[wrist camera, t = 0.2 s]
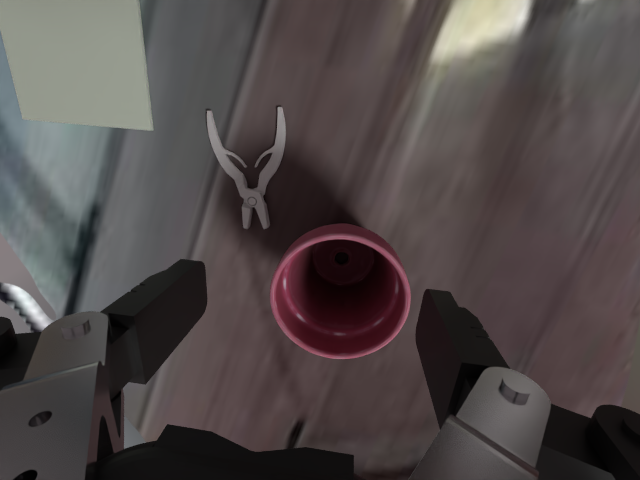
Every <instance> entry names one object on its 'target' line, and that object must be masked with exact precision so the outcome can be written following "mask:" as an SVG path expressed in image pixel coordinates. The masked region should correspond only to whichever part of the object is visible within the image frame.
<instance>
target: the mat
mask: <svg viewBox="0 0 640 480" xmlns="http://www.w3.org/2000/svg"><path fill="white" fill-rule="evenodd" d="M0 30H1V34H2V38H3V42H4V46H5V50H6V54H7V58H8V62H9V66H10V70H11V74H12V78H13V82H14V86H15V90H16V94H17V98H18V102H19V106H20V110H21V114H22V118H23V119H25V120H36V121H47V122H59V123H70V124H82V125H93V126H104V127H116V128H127V129H139V130H150V131H154V130H153V121H152V112H151V103H150V94H149V85H148V75H147V66H146V57H145V48H144V39H143V30H142V21H141V12H140V2H139V0H0Z"/></svg>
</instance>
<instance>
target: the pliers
mask: <svg viewBox="0 0 640 480" xmlns="http://www.w3.org/2000/svg"><path fill="white" fill-rule="evenodd" d="M207 127H208V133H209V138H210V141H211V145H212V147H213V150H214V153H215V155H216V157H217V159H218V161H219V163H220V164H221V166H222V167H223V169H224V170H225V171H226V173H227V174H228V175H229V176H231V177H232V178H233V179H234V180H235V183H236V186H237V188H238V191H239V194H240V196H241V197H242V198H243V199H244V203H243V205H242V219H243V228H245V229H248V228H249V227H250V225H251V218H252V211H253V207H255V209H256V211H257V213H258V216H259V219H260V221H261V224H262V226H263V229H266V228H268V227H269V226H270V221H269V215H268V209H267V204H266V203H265V201H264V198H263V196H264V195H265V192H266V186H267V184H268V182H269V180H270V178H271V177H272V176H273V175H274V174H275V172H276V171H277V169H278V167H279V165H280V163H281V160H282V157H283V153H284V148H285V142H286V124H285V118H284V113H283V108H282V107H278V119H277V134H276V140H275V145H274V146H273V147H272V148H271V149H269V150H267V151H265V152H264V153H263V154H262V155H261V156H260V157H259V159H258V160H257V162H256V164H255V166H254V167H257V166H258V164H259V162H260V161H261V159H262V158H263V157H264V156H265V155H266V154H269V153H272V152H273V153H272V156H271V158H270V160H269V162H268V163H267V165H266V166H265V167H264V169H263V170H262V171H261V173H260V175H259V182H258V187H257V188H254V189H250V188H247V181H246V179H245V176H244V174H243V173H242V172H241V171H240V170H239V169H238V168H237V167H236V166H235V165H234V164H233V163H232V161H231V160H230V159H229V157H228V156H227V154H228V155H232V156H234V157H235V158H237V159H238V160H239V161H240V162H241V163H242V165H243V166H244V167H245V168H246V167H247V165H246V164H245V163H244V161H243V160H242V159H241V158H240V157H239V156H238V155H236V154H235V153H233V152H231V151H229V150H227V149H225V148H224V147H223V146H222V143H221V141H220V138H219V136H218V133H217V129H216V126H215V122H214V118H213V114H212V111H207Z"/></svg>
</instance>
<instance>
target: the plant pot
mask: <svg viewBox="0 0 640 480" xmlns="http://www.w3.org/2000/svg"><path fill="white" fill-rule="evenodd" d="M340 252H344V253H346V254H347V255H348V261H347V262H346V263H344V264H339V263H338V262H337V261H336V260H335V256H336V254H338V253H340ZM410 299H411V297H410V287H409V282H408V279H407V276H406V273H405V270H404V268H403V265H402V263H401V261H400V259H399V257H398V255H397V254H396V252H395V251H394V249H393V248H392V247H391V246H390V245H389V244H388V243H387V242H386V241H385V240H384V239H383V238H381V237H380V236H379V235H377V234H375V233H374V232H372V231H370V230H367V229H365V228H362V227H359V226H356V225H352V224H348V223H338V224H331V225H325V226H322V227H318V228H316V229H313V230H311V231H309V232H307V233H305V234H304V235H302V236H301V237H299V238H298V239H297V240H296V241H295V242H293V243H292V244H291V246H290V247H289V248H288V249H287V251H286V252H285V254H284V255H283V257H282V258H281V260H280V262H279V264H278V266H277V268H276V270H275V272H274V275H273V278H272V281H271V286H270V303H271V308H272V312H273V314H274V317H275V319H276V321H277V323H278V325H279V326H280V328H281V329H282V331H283V332H284V333H285V334H286V335H287V336H288V337H289V338H290V339H291V340H292V341H293V342H294V343H296V344H297V345H298V346H300V347H302V348H303V349H305V350H307V351H309V352H311V353H313V354H316V355H319V356H323V357H327V358H334V359H349V358H356V357H360V356H364V355H367V354H370V353H372V352H375V351H377V350H378V349H380V348H382V347H383V346H385V345H386V344H387V343H389V342H390V341H391V340H392V339H393V338H394V337H395V336H396V335H397V334H398V332H399V331H400V330H401V328H402V326H403V324H404V322H405V320H406V318H407V316H408V312H409V308H410Z"/></svg>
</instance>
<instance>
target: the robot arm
mask: <svg viewBox="0 0 640 480" xmlns="http://www.w3.org/2000/svg"><path fill="white" fill-rule="evenodd" d="M206 306H207V287H206V272H205V265H204V263H203V262H201V261H193V260H185V259H181V260H179V261H177V262H176V263H175V264H173V265H172V266H171V267H169V268H168V269H167V270H164V271H162V272H159V273H157V274H154V275H152V276H150V277H148V278H147V279H146V280H144V281H143V282H141V283H140V285H137V286H136V287H134V288H133V289H132V290H131V292H127V293H126V294H125V295H123V296H122V297H120V298H119V299H118V300H116V301H115V302H113V303H112V304H111V305H109V306H108V307H106V308H105V309H104V310H102V311H101V312H95V311H89V312H80V313H76V314H72V315H68V316H66V317H63V318H61V319H58V320H56V321H55V322H53V323H51V324H50V325H48V326H47V327H46V328H45V329H44V330H43V331H42V332H34V333H21V334H15V331H14V328H13V325H12V323H11V320H10V319H8V318H5V317H0V480H366V479H364V478H363V477H361V476H359V475H357V474H354V455H350V454H344V453H338V452H331V451H325V450H319V449H313V448H307V447H304V448H294V449H284V450H273V451H263V452H254V451H250V450H248V449H246V448H244V447H242V446H240V445H238V444H236V443H234V442H232V441H230V440H228V439H226V438H223V437H221V436H219V435H217V434H215V433H213V432H211V431H205V430H199V429H193V428H187V427H181V426H175V425H169V424H167V426H166V427H165V429H164V430H163V432H162V433H161V435H160V436H159V438H158V440H157V441H152V442H147V443H143V444H139V445H135V446H132V447H129V448H126V449H124V393H123V387H124V386H125V385H126V384H127V383H128V382H133V383H139V384H146V383H147V382H148V381H149V380H150V378H151V377H152V376H153V375H154V374H155V372H156V371H157V370H158V369H159V368H160V366H161V365H162V364H163V363H164V362H165V360H166V359H167V358H168V357H169V355H170V354H171V353H172V352H173V351H174V349H175V348H176V347H177V346H178V345H179V343H180V342H181V341H182V340H183V338H184V337H185V336H186V335H187V334H188V332H189V331H190V330H191V329H192V328H193V326H194V325H195V324H196V323H197V322H198V320H199V319H200V318H201V317H202V315H203V314H204V312H205V309H206ZM416 345H417V349H418V352H419V356H420V359H421V363H422V367H423V370H424V374H425V377H426V381H427V385H428V388H429V392H430V395H431V399H432V402H433V406H434V410H435V413H436V417H437V420H438V424H439V428H440V431H439V433H438V434H437V436H436V437H435V439H434V440H433V442H432V444H431V445H430V447H429V448H428V450H427V451H426V453H425V455H424V456H423V458H422V459H421V461H420V462H419V464H418V466H417V467H416V469H415V470H414V472H413V473H412V475H411V477H410V478H409V480H640V414H638V413H636V412H633V411H631V410H628V409H626V408H622V407H619V406H615V405H601V406H599V407H597V409H596V410H595V412H594V414H593V416H592V417H591V418H588V417H586V416H583V415H580V414H577V413H575V412H572V411H569V410H566V409H564V408H561V407H558V406H556V405H553V404H551V403H550V400H549V398H548V396H547V394H546V393H545V392H544V391H543V389H542V388H541V387H540V386H539V385H538V384H536V383H535V382H534V381H532V380H531V379H530V378H528V377H526V376H525V375H523V374H521V373H519V372H516V371H514V370H511V369H510V368H509V366H508V365H507V363H506V362H505V360H504V359H503V357H502V356H501V354H500V352H499V351H498V349H497V348H496V346H495V345H494V343H493V342H492V340H490V337H489V335H488V334H487V332H486V331H485V330H484V328H483V326H482V324H481V323H480V321H479V320H478V318H477V317H476V316H474V315H473V314H472V313H471V312H470V311H468V310H467V309H466V308H462V307H458V305H457V303H456V301H455V300H454V298H453V296H452V294H451V293H450V292H448V291H440V290H432V289H426V290H425V292H424V295H423V300H422V304H421V309H420V313H419V317H418V322H417V326H416Z"/></svg>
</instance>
